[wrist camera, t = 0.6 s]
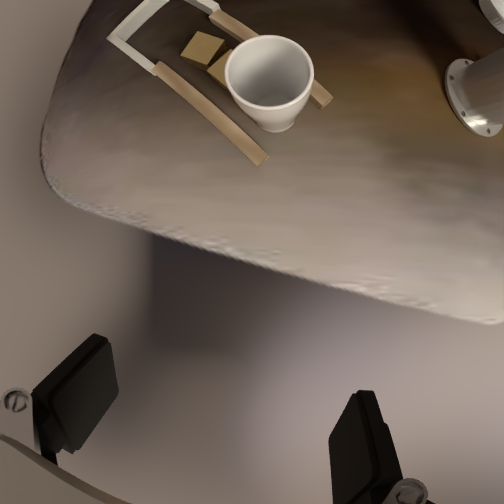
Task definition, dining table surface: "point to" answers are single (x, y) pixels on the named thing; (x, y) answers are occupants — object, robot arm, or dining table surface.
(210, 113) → the channel
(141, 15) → the u-shaped frame
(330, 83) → the dining table surface
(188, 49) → the tan cube
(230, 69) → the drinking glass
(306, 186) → the dining table surface
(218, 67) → the wooden cube
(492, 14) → the ramekin
